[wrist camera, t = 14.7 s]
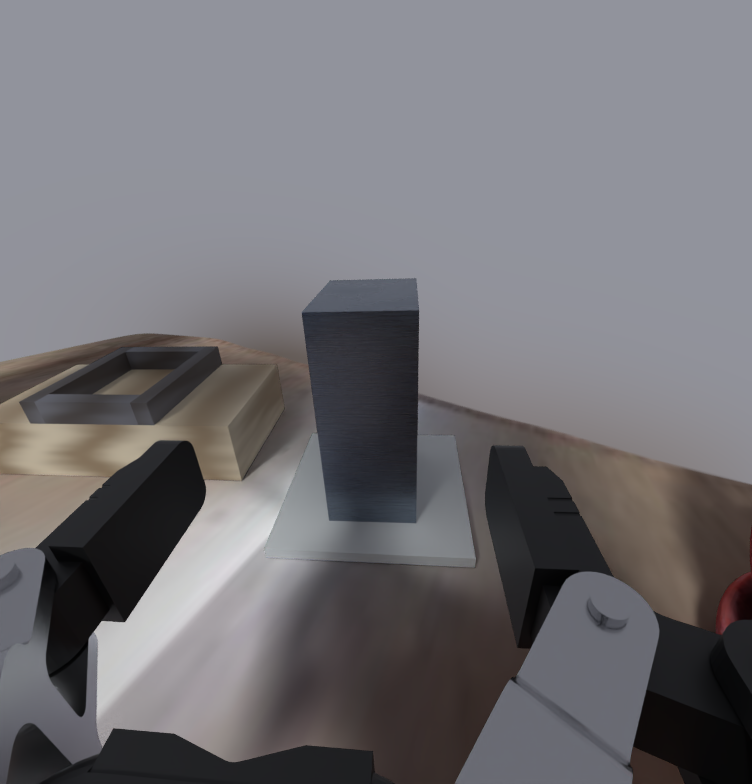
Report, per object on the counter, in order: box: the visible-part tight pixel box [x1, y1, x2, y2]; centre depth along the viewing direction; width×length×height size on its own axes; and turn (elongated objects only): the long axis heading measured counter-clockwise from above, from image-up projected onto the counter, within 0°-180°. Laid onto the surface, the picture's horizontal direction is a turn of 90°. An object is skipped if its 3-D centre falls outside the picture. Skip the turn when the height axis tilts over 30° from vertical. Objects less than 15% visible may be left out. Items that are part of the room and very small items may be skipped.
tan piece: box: [0, 347, 285, 480], centre depth 27 cm, size 17×9×6 cm, turn 85°
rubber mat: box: [264, 433, 476, 568], centre depth 22 cm, size 10×10×1 cm
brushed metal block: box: [302, 278, 419, 523], centre depth 20 cm, size 4×6×11 cm
